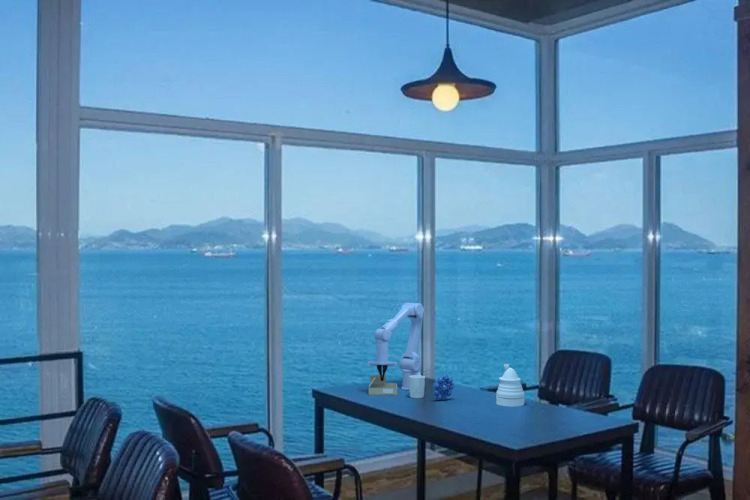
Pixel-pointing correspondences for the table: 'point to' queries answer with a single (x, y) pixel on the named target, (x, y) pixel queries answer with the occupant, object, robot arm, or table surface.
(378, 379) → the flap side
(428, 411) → the table surface
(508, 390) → the honey pot
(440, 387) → the grapes
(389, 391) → the carton
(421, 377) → the white cup
